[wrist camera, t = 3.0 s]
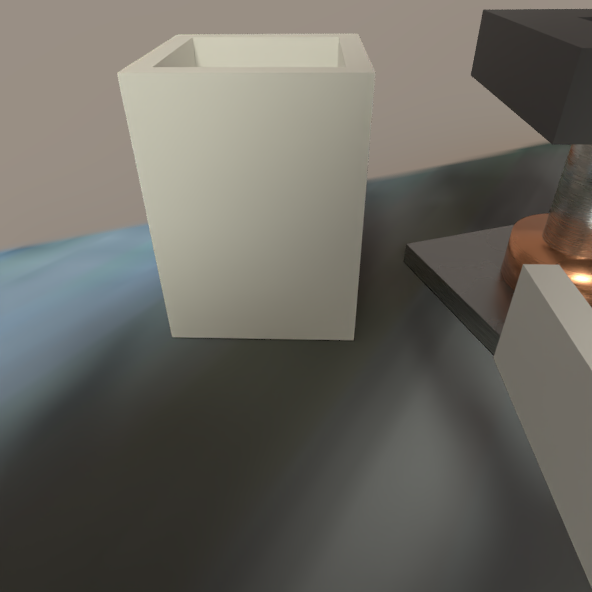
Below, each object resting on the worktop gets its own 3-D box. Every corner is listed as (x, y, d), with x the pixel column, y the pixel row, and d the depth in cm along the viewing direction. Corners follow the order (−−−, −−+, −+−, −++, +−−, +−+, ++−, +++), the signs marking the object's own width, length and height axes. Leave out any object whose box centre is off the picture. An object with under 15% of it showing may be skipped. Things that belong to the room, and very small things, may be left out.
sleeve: (345, 247, 26) (357, 33, 20) (354, 340, 20) (375, 72, 14) (205, 246, 26) (177, 34, 20) (172, 337, 20) (116, 73, 14)
